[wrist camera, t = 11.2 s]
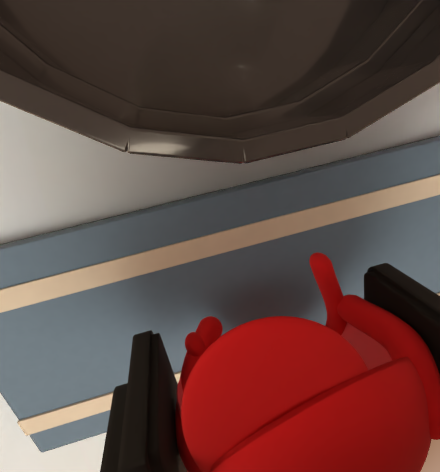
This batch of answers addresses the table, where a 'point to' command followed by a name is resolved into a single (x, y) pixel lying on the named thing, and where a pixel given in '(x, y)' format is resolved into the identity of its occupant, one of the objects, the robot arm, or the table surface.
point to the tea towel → (200, 276)
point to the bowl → (216, 70)
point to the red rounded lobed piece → (309, 391)
